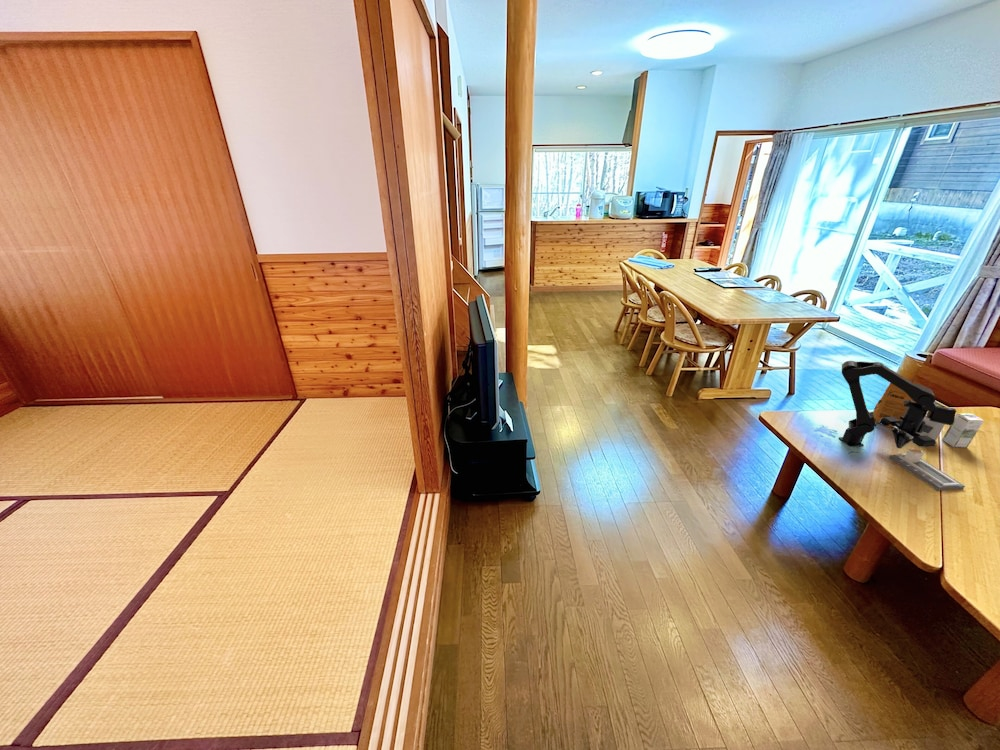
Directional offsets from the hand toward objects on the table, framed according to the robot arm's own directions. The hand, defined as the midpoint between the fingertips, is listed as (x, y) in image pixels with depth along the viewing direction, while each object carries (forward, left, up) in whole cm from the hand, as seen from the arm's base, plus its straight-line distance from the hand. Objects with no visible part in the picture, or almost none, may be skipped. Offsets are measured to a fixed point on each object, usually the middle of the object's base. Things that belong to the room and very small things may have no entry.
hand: (898, 447), depth 170 cm
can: (+22, +10, -4) cm, 25 cm away
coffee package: (+18, +24, -4) cm, 30 cm away
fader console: (0, -12, -3) cm, 13 cm away
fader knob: (0, -6, -2) cm, 7 cm away
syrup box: (+31, +5, -4) cm, 32 cm away
